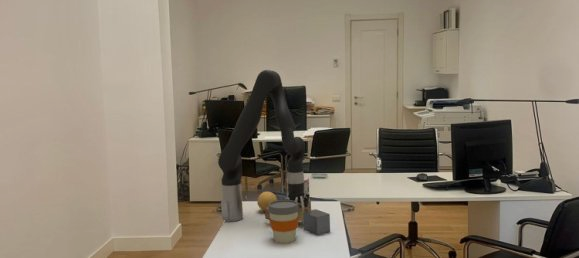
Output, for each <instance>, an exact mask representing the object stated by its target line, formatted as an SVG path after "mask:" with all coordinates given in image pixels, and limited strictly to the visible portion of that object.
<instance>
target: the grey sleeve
mask: <svg viewBox="0 0 579 258" xmlns="http://www.w3.org/2000/svg"><path fill="white" fill-rule="evenodd" d="M303 221H304V222H303V231H305V232H307V233H310V234H312V235H314V236H316V237H317V236H323V235H325V234H329V233H331V216H330V213H329V212H328V213H327V212H326V211H321V210H319V209H316V208H314V209H311V211H307V212H303Z"/></svg>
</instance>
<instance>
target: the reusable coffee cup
mask: <svg viewBox="0 0 579 258" xmlns="http://www.w3.org/2000/svg"><path fill="white" fill-rule="evenodd" d="M298 211H299V207H298V203H297V202H296V201H292V200H283V199H279V200H278V199H277V201H274V202H271V203H270V204H269V210H268V212H269V213H270V218H269V219H270V220H269V223H270V224H269V225H270V229H271V230H272V235H273V240H275V242H276V243H278V242H280V243H279V244H288V243H292V241H293V242H294V241H296V237H297V229H298V226H299V220H298Z"/></svg>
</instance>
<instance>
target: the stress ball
mask: <svg viewBox="0 0 579 258" xmlns="http://www.w3.org/2000/svg"><path fill="white" fill-rule="evenodd" d="M274 201H278V199H277V196H276V195H275V194H274V193H273V192H271V191H263V192H262V193H260V194H259V195H258V197H257V202H256V203H257V206H258V207H259V209H260V210H261V211H263V212H265V208H267V207H269V204H270V203H271V202H274Z"/></svg>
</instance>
